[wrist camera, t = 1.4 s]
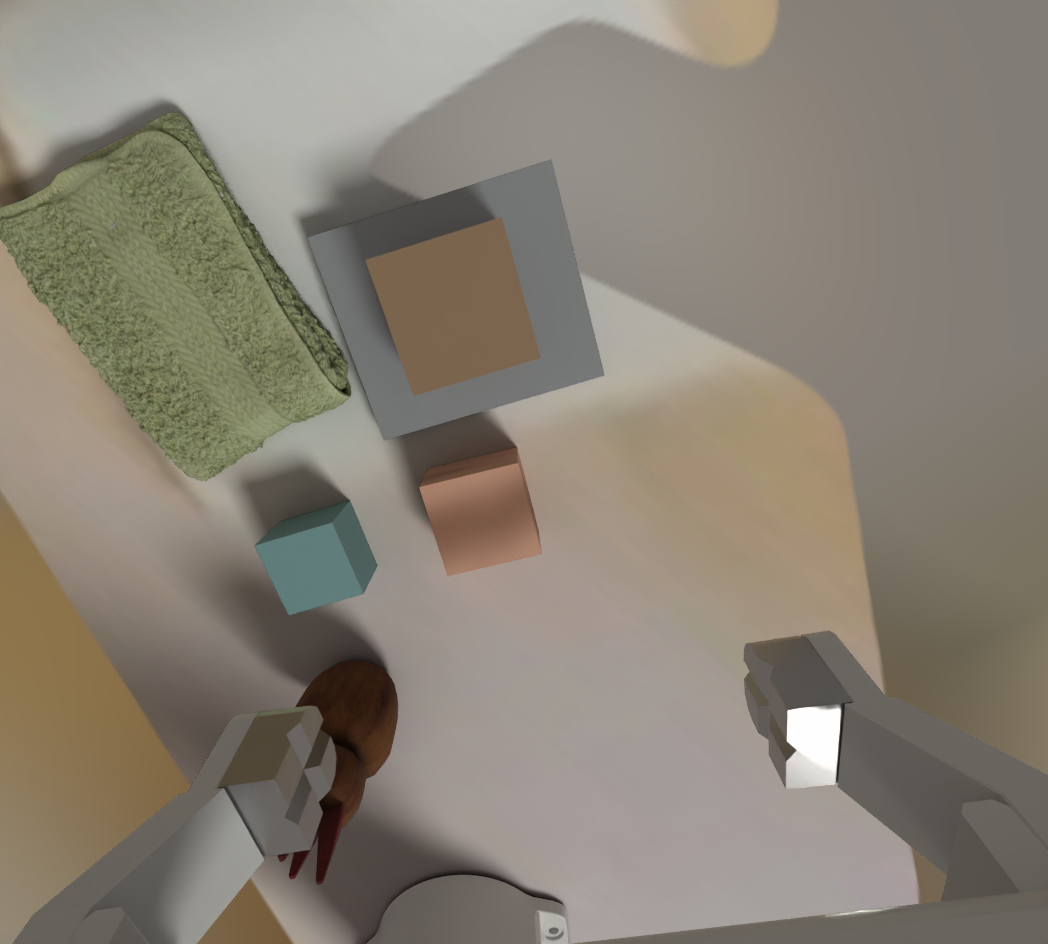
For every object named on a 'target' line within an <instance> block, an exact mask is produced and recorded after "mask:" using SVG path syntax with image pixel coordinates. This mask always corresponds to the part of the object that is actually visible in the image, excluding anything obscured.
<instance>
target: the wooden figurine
mask: <svg viewBox="0 0 1048 944" xmlns="http://www.w3.org/2000/svg"><path fill="white" fill-rule="evenodd" d="M303 706H315V707H317V708H318V710H319V712H320V714H321V716H322V718H323V722H322V724H321V727H320V730H322V731H323V732H325V733H326V734H328V735H329V736H331V738H332V741H333V743H334V746H335V752H336V771H335V777H334V780H333V783H332V787H331V790H330V791H329V792H328V793H327V794H326V795H325V796H324V797H323V798H322V799H321V800H320V801H319V805H320V807H321V809H322V812H323V814H322V817H321V820H320V823H319V826H318V829H317V832H316V835H315V838H314V841H313V844H312V847H313V845H314V843H315V842H316V840H317V838H318V854H317V871H316V882H317V884H322V883H323V882H324V879H325V876H326V873H327V870H328V867H329V864H330V861H331V858H332V855H333V852H334V849H335V846H336V843H337V840H338V837H339V834H340V831H341V828H342V827H344V826H345V825H346V824H347V823H348V821H349V820H350V819H351V818H352V817H353V815H354V814H355V812H356V811H357V810H358V808H359V805H360V803H361V800H362V796H363V792H364V787H365V781H366V779H367V778H369V777H371V776H373V775H375V774H376V773H377V771H378V770H379V769H380V768H381V766H382V765H383V764H384V763H385V761H386V759H387V758H388V756H389V755H390V752H391V748H392V744H393V739H394V735H395V730H396V724H397V718H398V700H397V693H396V689H395V685H394V683H393V681H392V679H391V678H390V676H389V675H388V674H387V673H386V671H385V670H383V669H381V668H380V667H378V666H376V665H374V664H371V663H368V662H364V661H346V662H340V663H338V664H336V665H334V666H333V667H331V668H329V669H327V670H326V671H324V672H322V673H321V674H320V675H319V676H317V677H316V678H315V679H314V680H313V681H312V683H311V684H310V685H309V686H308V688H307V689H306V690H305V692H304V694H303V695H302V697H301V699H300V700H299V702H298V704H297V705H296V707H303ZM312 847H311V849H312ZM310 851H311V850H305V851H299V852H294V855H293V860H292V864H291V868H290V873H289V877H290V879H294V878H295V877H296V876H297V874H298V872H299V870H300V868H301V867H302V865H303V863H304V861H305V860H306V858H307V856H308V854H309V852H310ZM288 854H289V853H286V854H280V855H278V858H279V861H280V862H282V861H284V860H285V859H286V857H287V856H288Z"/></svg>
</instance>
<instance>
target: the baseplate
mask: <svg viewBox="0 0 1048 944" xmlns="http://www.w3.org/2000/svg"><path fill="white" fill-rule="evenodd" d="M307 239H308V242H309V245H310V247H311V250H312V252H313V255H314V258H315V260H316V263H317V266H318V268H319V271H320V273H321V276H322V279H323V281H324V284H325V287H326V289H327V292H328V295H329V297H330V300H331V302H332V305H333V308H334V310H335V313H336V316H337V318H338V321H339V324H340V326H341V329H342V331H343V334H344V337H345V339H346V342H347V345H348V347H349V350H350V353H351V355H352V358H353V360H354V363H355V366H356V368H357V371H358V374H359V376H360V379H361V381H362V384H363V387H364V389H365V392H366V395H367V397H368V400H369V403H370V405H371V408H372V410H373V413H374V416H375V418H376V421H377V424H378V426H379V429H380V432H381V434H382V437H383V439H384V440H387V439H391V438H394V437H397V436H401V435H404V434H408V433H411V432H414V431H418V430H421V429H425V428H428V427H431V426H435V425H438V424H441V423H445V422H448V421H452V420H455V419H458V418H462V417H465V416H469V415H472V414H475V413H479V412H482V411H486V410H489V409H492V408H496V407H499V406H503V405H506V404H509V403H513V402H516V401H519V400H523V399H526V398H530V397H533V396H536V395H540V394H543V393H547V392H550V391H553V390H557V389H560V388H564V387H567V386H570V385H574V384H577V383H580V382H584V381H587V380H591V379H594V378H597V377H601V376H604V371H603V367H602V363H601V359H600V355H599V351H598V347H597V343H596V339H595V335H594V331H593V327H592V323H591V319H590V314H589V310H588V306H587V302H586V298H585V294H584V290H583V286H582V282H581V278H580V274H579V270H578V266H577V262H576V258H575V254H574V249H573V245H572V241H571V237H570V233H569V230H568V225H567V221H566V217H565V213H564V209H563V205H562V201H561V197H560V193H559V189H558V184H557V180H556V177H555V172H554V168H553V164H552V160H548V161H545V162H542V163H539V164H536V165H532V166H529V167H526V168H523V169H520V170H517V171H514V172H511V173H507V174H504V175H501V176H498V177H495V178H492V179H489V180H485V181H482V182H479V183H476V184H473V185H470V186H467V187H464V188H461V189H458V190H454V191H451V192H448V193H445V194H442V195H439V196H436V197H432V198H429V199H426V200H423V201H420V202H417V203H414V204H410V205H407V206H404V207H401V208H398V209H395V210H392V211H389V212H385V213H382V214H379V215H376V216H373V217H370V218H367V219H364V220H360V221H357V222H354V223H351V224H348V225H345V226H342V227H339V228H335V229H332V230H329V231H326V232H323V233H320V234H317V235H314V236H310V237H307Z"/></svg>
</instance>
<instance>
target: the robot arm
mask: <svg viewBox="0 0 1048 944" xmlns="http://www.w3.org/2000/svg"><path fill="white" fill-rule="evenodd" d="M744 662H745V663H746V665H747V667H748V669H749V671H750V672H749V673H748V675H747V676H746V677H745V679H744V686H745V696H746V701H747V706H748V710H749V712H750V715H751V718H752V721H753V723H754V725H755V727H756V729H757V731H758V733H759V734H761V735H762V736H764V737H765V738H767V739H768V740H769V756H770V758H771V760H772V762H773V764H774V766H775V768H776V770H777V772H778V774H779V776H780V778H781V780H782V782H783V784H784V786H785V788H786V789H793V788H803V787H813V786H823V785H833V784H838V787H839V788H840V789H841V790H842V791H843V792H845V793H846V794H847V795H848V796H850V797H851V798H852V799H853V800H855V801H856V802H857V803H858V804H860V805H861V806H862V807H863V808H864V809H866V810H867V811H868V812H869V813H871V814H872V815H873V816H874V817H876V818H877V819H878V820H879V821H880V822H882V823H883V824H884V825H885V826H887V827H888V828H889V829H890V830H892V831H893V832H894V833H895V834H897V835H898V836H899V837H900V838H901V839H903V840H904V841H905V842H906V843H908V844H909V845H910V846H911V847H913V848H914V849H915V850H916V851H918V852H919V853H920V854H921V855H922V856H924V857H925V858H926V859H927V860H929V861H930V862H931V863H932V864H934V865H935V866H936V867H937V868H939V869H940V870H941V871H942V872H943V873H945V874H946V875H947V876H946V880H945V885H944V890H943V894H942V898H941V902H933V903H924V904H915V905H906V906H898V907H889V908H880V909H871V910H863V911H854V912H845V913H837V914H828V915H819V916H810V917H802V918H793V919H784V920H776V921H767V922H758V923H749V924H741V925H732V926H723V927H715V928H706V929H697V930H688V931H680V932H671V933H662V934H654V935H645V936H636V937H627V938H619V939H610V940H601V941H592V942H584V943H575V944H1048V775H1047V774H1045V773H1043V772H1041V771H1039V770H1037V769H1035V768H1033V767H1031V766H1029V765H1027V764H1025V763H1023V762H1021V761H1020V760H1017V759H1016V758H1013V757H1012V756H1010V755H1008V754H1006V753H1004V752H1002V751H1000V750H998V749H996V748H994V747H992V746H990V745H988V744H986V743H984V742H982V741H980V740H978V739H977V738H975V737H973V736H971V735H969V734H967V733H965V732H963V731H961V730H959V729H957V728H955V727H953V726H951V725H949V724H947V723H945V722H943V721H941V720H939V719H937V718H935V717H934V716H931V715H930V714H928V713H926V712H924V711H922V710H920V709H918V708H916V707H914V706H912V705H910V704H908V703H906V702H904V701H902V700H900V699H898V698H887V697H886V696H885V695H884V694H883V692H882V691H881V690H880V689H879V688H878V686H877V685H876V684H875V683H874V681H873V680H872V679H871V678H870V676H869V675H868V674H867V673H866V671H865V670H864V669H863V668H862V667H861V665H860V664H859V663H858V662H857V660H856V659H855V658H854V657H853V655H852V654H851V653H850V652H849V650H848V649H847V648H846V647H845V646H844V644H843V643H842V642H841V641H840V639H839V638H838V637H837V636H836V634H834V633H833V632H831V631H823V632H817V633H811V634H804V635H801V636H793V637H786V638H779V639H773V640H766V641H760V642H753V643H746V645H745V648H744ZM322 722H323V718H322V716H321V714H320V712H319V710H318V708H317V707H315V706H303V707H294V708H286V709H277V710H269V711H262V712H257V713H248V714H238V715H236V716H235V717H234V718H232V719H231V720H230V721H229V722H228V724H227V726H226V728H225V729H224V731H223V733H222V734H221V736H220V738H219V739H218V741H217V743H216V744H215V746H214V748H213V750H212V751H211V753H210V755H209V756H208V758H207V760H206V761H205V763H204V765H203V766H202V768H201V770H200V772H199V773H198V775H197V777H196V778H195V780H194V782H193V783H192V785H191V787H190V788H189V790H188V792H187V793H183V794H178V795H177V796H176V797H175V798H173V799H172V800H171V801H170V802H169V803H168V804H166V805H165V806H164V807H163V808H161V809H160V810H159V811H158V812H157V813H155V814H154V815H153V816H152V817H151V818H149V819H148V820H147V821H146V822H145V823H143V824H142V825H141V826H140V827H138V829H136V830H135V831H134V832H132V833H131V834H130V835H129V836H128V837H127V838H125V839H124V840H123V841H122V842H120V843H119V844H118V845H117V846H116V847H114V848H113V849H112V850H111V851H110V852H108V853H107V854H106V855H105V856H103V857H102V858H101V859H100V860H99V861H97V862H96V863H95V864H94V865H93V866H91V867H90V868H89V869H88V870H87V871H85V872H84V873H83V874H82V875H81V876H80V877H78V878H77V879H76V880H75V881H73V882H72V883H71V884H70V885H69V886H67V887H66V888H65V889H64V890H62V891H61V892H60V893H59V894H58V895H56V896H55V897H54V898H53V899H52V900H50V901H49V902H48V903H47V904H46V905H44V906H43V907H42V908H41V909H40V910H38V911H37V912H36V913H35V914H33V915H32V917H31V918H30V920H29V921H28V923H27V924H26V925H25V927H24V928H23V930H22V931H21V933H20V934H19V935H18V937H17V938H16V939H15V941H14V942H13V944H196V943H197V942H198V941H199V940H200V939H201V938H202V936H203V935H204V934H205V933H206V931H207V930H208V929H209V927H210V926H211V925H212V924H213V923H214V921H215V920H216V919H217V918H218V917H219V915H220V914H221V913H222V912H223V910H224V909H225V908H226V907H227V905H228V904H229V903H230V902H231V901H232V899H233V898H234V897H235V896H236V894H237V893H238V892H239V891H240V889H241V888H242V887H243V886H244V884H245V883H246V882H247V881H248V880H249V878H250V877H251V876H252V875H253V873H254V872H255V871H256V870H257V868H258V867H259V866H260V865H261V863H262V862H263V861H264V857H267V856H273V855H280V854H286V853H292V852H299V851H305V850H311V847H312V844H313V841H314V838H315V835H316V832H317V829H318V826H319V823H320V820H321V817H322V814H323V812H322V809H321V807H320V805H319V801H320V800H321V799H322V798H323V797H324V796H325V795H326V794H327V793H328V792H329V791H330V790H331V787H332V783H333V780H334V777H335V771H336V752H335V746H334V743H333V741H332V738H331V736H329V735H328V734H326V733H325V732H323V731H322V730H320V727H321V724H322ZM366 944H570V943H569V932H568V922H567V912H566V908H565V907H564V906H563V905H562V904H560V903H558V902H555V901H551V900H546V899H541V898H535V897H532V896H529V895H527V894H525V893H523V892H522V891H520V890H518V889H516V888H515V887H513V886H511V885H509V884H506V883H504V882H501V881H499V880H495V879H492V878H488V877H482V876H475V875H451V876H444V877H439V878H434V879H431V880H427V881H424V882H422V883H419V884H417V885H415V886H413V887H411V888H409V889H408V890H406V891H405V892H403V893H402V894H400V895H399V896H398V897H397V898H396V899H395V900H394V901H393V902H392V903H391V904H390V905H389V907H388V908H387V910H386V911H385V913H384V915H383V917H382V920H381V923H380V926H379V929H378V931H377V933H376V935H375V936H374V937H373V938H372V939H371V940H370V941H368V942H367V943H366Z"/></svg>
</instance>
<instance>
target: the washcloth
mask: <svg viewBox="0 0 1048 944" xmlns="http://www.w3.org/2000/svg"><path fill="white" fill-rule="evenodd" d="M193 128H194V127H193V125H192V124H191V123H190V122H189V121H188V120H187V119H186V118H185V117H184V116H183V115H182V114H180V113H167V114H166V115H163V116H161V117H159V118H157V119H155V120H153V121H152V122H149V123H148V124H147V125H146V126H145V127H143V128H142V129H140V130H138V131H136V132H134V133H131V134H130V135H128V136H126V137H124V138H120V139H119V140H117V141H115V142H112V143H110V144H109V145H107V146H105V147H103V148H100V149H99V150H97V151H94V152H92V153H90V154H88V155H85V156H84V157H83V158H82V159H81V160H80V161H79V162H77V163H76V164H75V165H73V166H72V167H69V168H67V169H64V170H62V171H61V172H60V173H58V174H57V175H56V177H55V178H54V180H53V181H52V183H51V184H50V185H48V186H47V187H45V188H44V189H42V190H41V191H39V192H37V193H35V194H34V195H32V196H30V197H28V198H26V199H24V200H22V201H19V202H16V203H13V204H10V205H6V206H4V207H1V208H0V239H1V240H2V242H3V243H4V244H5V245H6V246H7V248H8V250H7V251H8V253H9V254H10V255H12V256H13V258H14V259H15V262H16V264H17V268H18V269H20V271H21V273H22V275H23V276H24V277H25V278H26V279H27V280H28V284H27V285H28V287H29V288H30V290H31V291H32V293H33V294H34V295H35V296H36V297H37V299H38V300H39V302H41V303H43V304H45V305H47V306H48V307H49V310H50V312H51V313H52V314H53V316H54V317H55V318H56V319H57V320H58V322H57V324H58V325H61V326H63V327H65V328H66V330H67V333H68V334H69V335H70V336H71V338H72V340H73V341H74V342H75V343H76V344H79V349H80V350H81V351H82V353H83V354H84V355H85V356H86V357H88V358H89V359H90V364H91V365H92V366H93V367H95V368H96V369H97V370H99V371H100V377H101V378H102V379H104V380H105V382H106V384H107V385H108V386H109V387H111V389H112V391H114V392H116V394H115V395H116V396H118V397H121V398H122V399H123V402H124V403H125V406H126V410H127V412H129V414H130V415H131V417H132V419H134V420H136V421H137V422H139V423H140V425H139V427H140V429H141V430H142V431H144V432H147V433H148V435H149V436H150V437H151V438H152V439H153V441H154V442H155V443H157V444H159V446H160V447H161V448H162V449H163V450H164V451H165V452H166V454H165V457H166V458H168V459H171V461H173V462H174V463H175V465H176V466H178V467H179V468H180V469H182V471H183V472H184V473H185V474H186V475H187V476H189V477H192V478H195V479H196V480H200V481H207V480H208V479H211V478H212V477H215V474H216V475H217V474H219V473H220V472H221V471H222V469H224V468H227V467H228V465H233V464H235V463H236V460H238V459H241V458H242V457H243V455H245V454H249V453H251V452H254V451H256V450H257V448H258V447H261V448H262V447H263V442H264V440H265V439H266V438H267V437H269V436H272V435H274V434H275V433H276V432H278V431H280V430H282V429H283V428H285V427H286V426H288V425H290V424H291V423H293V422H295V423H299V422H302V421H306V420H307V419H308V418H311V417H314V415H319V414H322V413H323V412H325V411H329V410H332V409H335V408H336V407H338V406H339V405H342V404H343V403H344V401H346V400H347V399H348V398H349V397H350V396H351V386H350V384H349V381H348V379H347V375H348V374H347V372H348V368H349V366H348V362H347V360H346V358H344V357H343V356H342V354H340V351H339V350H338V349H337V346H336V345H335V340H334V339H333V338H332V337H331V336H329V335H328V334H327V332H326V330H324V329H322V325H321V324H320V323H318V321H317V320H316V318H315V317H314V316H313V315H312V314H311V313H310V311H309V310H308V309H307V308H306V307H305V306H304V304H303V302H302V300H301V298H300V297H299V296H298V292H297V291H296V290H295V288H294V287H293V286H292V284H291V283H290V282H289V280H288V278H287V276H286V275H285V274H284V273H283V272H282V271H281V270H280V269H279V268H278V267H277V265H276V261H275V260H274V259H273V258H272V257H271V256H269V255H268V250H267V249H266V248H265V247H264V246H263V245H262V240H263V239H262V238H261V237H260V236H259V235H258V234H257V231H255V230H256V227H254V226H252V225H251V226H250V225H249V223H250V220H249V219H246V218H244V214H243V210H240V209H239V208H238V205H237V204H234V199H232V196H231V194H230V193H229V192H228V190H227V187H225V185H224V182H223V180H222V178H221V177H220V176H219V174H218V173H217V172H216V171H215V168H214V164H213V162H212V161H211V160H210V159H209V158H208V157H207V156H206V155H205V153H204V152H205V149H204V147H203V145H202V144H201V142H200V140H199V139H198V136H197V135H196V133H195V132H194V131H193Z"/></svg>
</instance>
